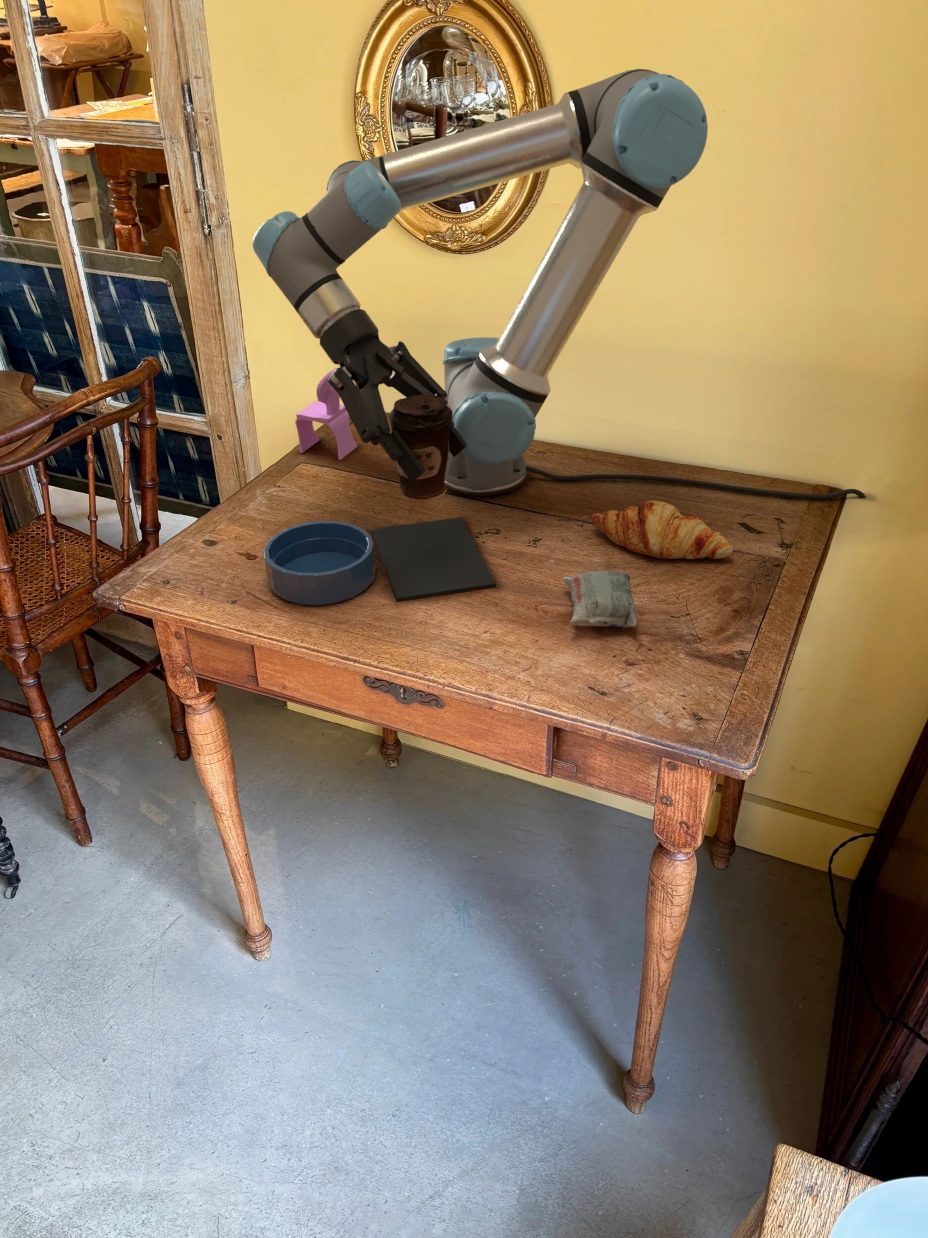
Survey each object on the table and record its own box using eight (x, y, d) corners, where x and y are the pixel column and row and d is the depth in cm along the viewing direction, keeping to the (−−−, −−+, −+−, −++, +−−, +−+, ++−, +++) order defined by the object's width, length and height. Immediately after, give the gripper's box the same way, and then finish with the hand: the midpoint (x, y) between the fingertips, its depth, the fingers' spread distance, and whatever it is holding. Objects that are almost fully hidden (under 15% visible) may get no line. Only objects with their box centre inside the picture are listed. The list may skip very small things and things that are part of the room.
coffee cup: (446, 509, 126) (443, 419, 118) (386, 504, 127) (380, 414, 120) (459, 479, 133) (457, 392, 125) (402, 474, 134) (397, 388, 126)
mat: (461, 520, 146) (461, 516, 145) (496, 586, 130) (496, 583, 129) (372, 532, 143) (372, 528, 143) (396, 601, 127) (396, 598, 127)
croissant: (731, 571, 138) (744, 518, 137) (723, 573, 129) (738, 516, 127) (594, 541, 145) (605, 490, 144) (577, 541, 136) (589, 486, 135)
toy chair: (318, 437, 173) (309, 357, 165) (360, 444, 170) (353, 363, 162) (294, 454, 167) (283, 372, 158) (337, 462, 164) (329, 379, 155)
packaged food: (568, 639, 119) (570, 607, 116) (562, 589, 129) (564, 558, 126) (637, 640, 119) (641, 608, 116) (626, 589, 128) (629, 558, 126)
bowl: (366, 544, 140) (363, 515, 137) (383, 597, 128) (381, 566, 125) (265, 558, 137) (260, 528, 134) (273, 614, 125) (268, 582, 122)
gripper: (378, 320, 134) (470, 449, 135) (270, 363, 120) (374, 507, 121) (405, 287, 128) (501, 422, 130) (295, 328, 114) (404, 480, 115)
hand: (440, 463), depth 125 cm, fingers closed on coffee cup, 9 cm apart
